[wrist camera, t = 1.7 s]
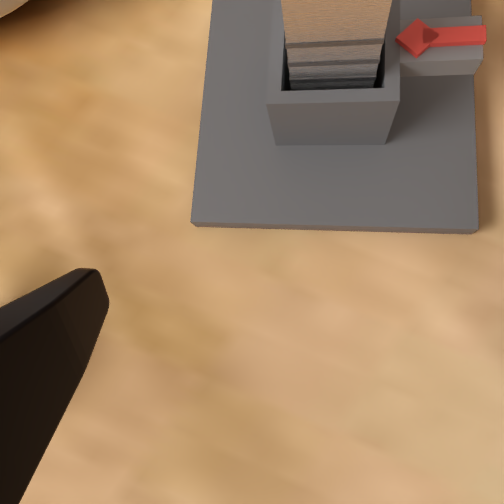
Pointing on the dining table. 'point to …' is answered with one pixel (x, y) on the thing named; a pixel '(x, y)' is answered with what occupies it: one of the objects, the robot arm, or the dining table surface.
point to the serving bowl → (10, 6)
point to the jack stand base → (341, 128)
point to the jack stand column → (334, 42)
